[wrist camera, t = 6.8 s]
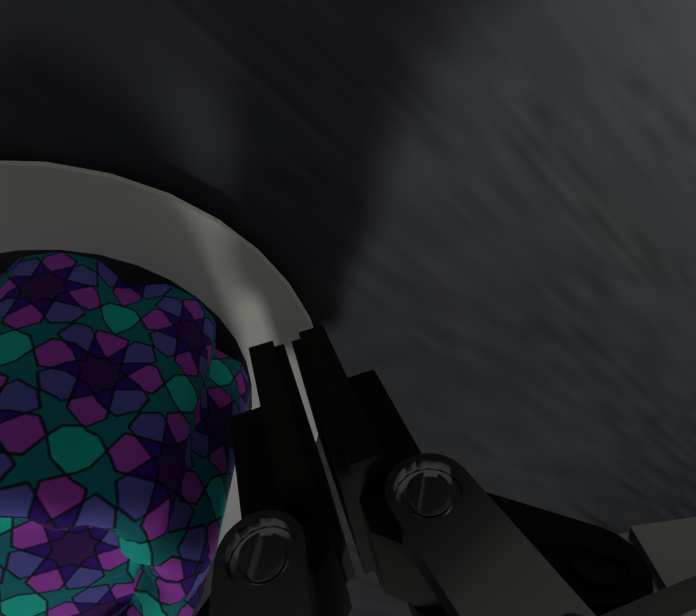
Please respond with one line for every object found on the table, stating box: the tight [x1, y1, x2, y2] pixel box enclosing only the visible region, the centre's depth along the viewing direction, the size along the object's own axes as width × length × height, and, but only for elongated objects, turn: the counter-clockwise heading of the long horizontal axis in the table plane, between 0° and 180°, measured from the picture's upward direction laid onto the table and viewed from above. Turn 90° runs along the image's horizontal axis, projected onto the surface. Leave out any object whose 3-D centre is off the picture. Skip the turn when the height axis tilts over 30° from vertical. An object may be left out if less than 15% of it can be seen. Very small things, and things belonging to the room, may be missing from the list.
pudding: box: [0, 161, 318, 616], centre depth 10 cm, size 12×12×5 cm
